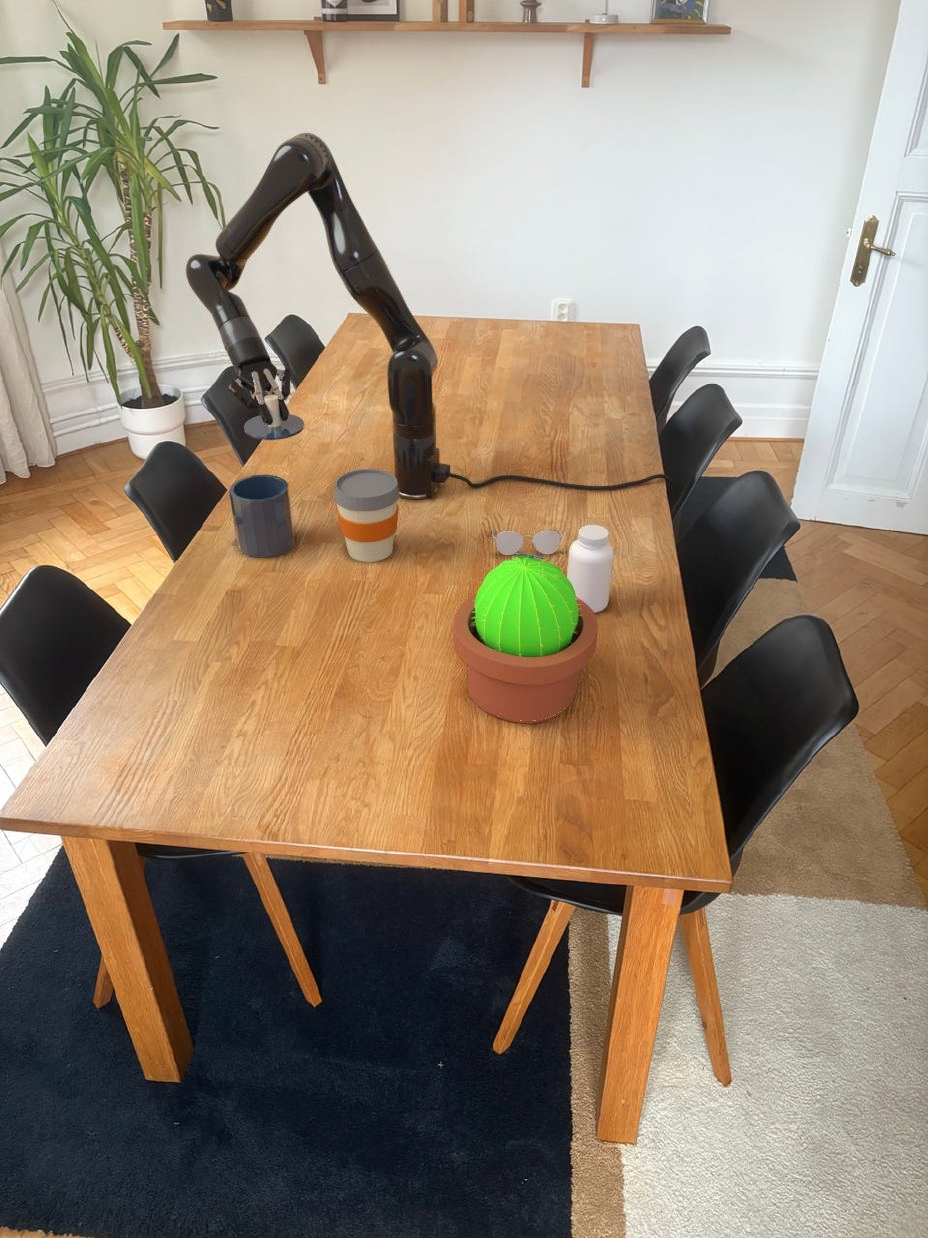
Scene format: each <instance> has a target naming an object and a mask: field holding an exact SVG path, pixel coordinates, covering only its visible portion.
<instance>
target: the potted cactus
mask: <svg viewBox="0 0 928 1238" xmlns="http://www.w3.org/2000/svg"><path fill="white" fill-rule="evenodd" d="M519 556H520V557H519ZM507 559H508V560H504V561H502V562H500V563H498V566H494V568H493V569H490V571H489V572H488V573H486V571H485V570H484V571H483V572H484V574H485V575H486V576H485V577H484V579H483V581H482V584H481V585H480V586H478V587H477V586H476V588H478V589H477V592H476V593H474V594H473V595H470V596H469V597H468V598H466V599H465V601H464V602H462V603H461V604H460V606H459V607H458V609H457V610H456V612H455V614H454V616H453V620H452V621H453V622H452V645H453V648H454V652H455V653H456V655H457V656H458V658H459V659H460V660H461V661H462V662H463V663H464V664H465V665H467V691H468V694H469V697H470V698H471V699H470V700H472V702H473V703H474V704H475V705H476V706H477V707H478V708H480V709H481V711H484V713H485V712H486V714H489V715H490V716H492V717H495V718H498V719H501V720H504V721H507V722H512V723H518V724H536V723H537V724H538V723H542V722H546V721H548V720H551V719H553V718H555V717H557V716H559V715H560V714H563V712H564V711H566V710H567V709H568V707H570V705H571V704H572V702H573V700H574V699H575V696H576V693H577V689H578V679H579V672H580V671H581V670H582V669H583V668H584V667H586V665H587V664H588V663H590V661H591V659H592V658H593V656H594V654H595V651H596V648H597V641H598V631H599V621H598V617H597V615H596V613H594V612H593V610H592V609H591V608H590V607H589V606H588V605H587V604H586V603H585V602H583V601H582V600H581V599H579V598H577V597H576V594H575V590H576V589H575V590H574V588H573V586H572V584H571V582H570V581H571V580H570V581H569V579H568V578H567V575H565V574H564V571H563V570H562V568H559V567H558V566H557V563H556V561H555V560H553V561H552V563H551V562H547V561H545V560H546V558H545V557H543V556H539V555H534V554H528V553H520V552H516V553H513V554H512V558H510V557H507ZM554 562H555V563H554ZM572 580H573V579H572ZM573 581H574V580H573ZM572 583H573V582H572ZM564 708H565V709H564ZM560 711H561V712H560ZM558 712H559V713H558ZM555 714H556V715H555ZM498 715H499V716H498ZM553 715H554V716H553ZM550 716H551V717H550ZM548 717H549V718H548ZM545 718H546V719H545ZM541 719H542V720H541ZM520 720H522V721H520ZM533 720H536V721H533Z"/></svg>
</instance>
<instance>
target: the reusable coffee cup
mask: <svg viewBox="0 0 928 1238" xmlns="http://www.w3.org/2000/svg"><path fill="white" fill-rule="evenodd" d="M333 489H334V491H333V499H334V502H335V503H336V506H337V507H336V516H337V520H338V523H339V528H340V532H341V534H342V535H343V537H344V540H345V541H344V542H345V545H346V549H347V553H348V556H349V557H351V558H352V559H353V560H355V561H359V562H363V563H372V562H373V563H374V562H379V561H382V560H385V559H386V558H388V557H390V556H391V554H392V553H393V549H394V539H395V533H396V532H397V528H398V518H399V510H400V509H399V507H400V506H399V505H398V500H399V498H400V496H399V488H398V482H397V479H396V477H395V474H392V473H391V472H388V471H387V470H382V469H377V468H360V469H354V470H351V471H350V470H349V471H347V472H345V473H342V474H341V475H340V476H338V477H337V478H336V479H335V481H334V488H333Z"/></svg>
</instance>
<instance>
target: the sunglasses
mask: <svg viewBox="0 0 928 1238" xmlns="http://www.w3.org/2000/svg"><path fill="white" fill-rule="evenodd" d="M491 531H492V539H495V546H496V549H497V550H498V552H499V553H500V554H502V555H504V556H513V555H514V554H513V553H518V551H520V549H521V548H522V547H523V545H524V543H525V540H524V538H525V537H531V538H532V539H531V540H530V542H531V544H532V546H533V547H534V548H535V550H537V552H539V553H541V554H543V555H552V554H553V553H555V552H556V551H557V550H558V549H559V546H560V544H561V538H563V537H564V535H563V534H562V532H561V531H560V529H559V528H558V527H556V528H555V530H542V531H538V532H536V533H535V534H534V535H528V534H527V535H526V534H525V535H524V536H523V535H522V534H521V533H520V532H517V531H509V530H508V531H507V530H505V531H501V532H499V533H498V534H497V535H496V536H495V535H494V530H493V528H491Z"/></svg>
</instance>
